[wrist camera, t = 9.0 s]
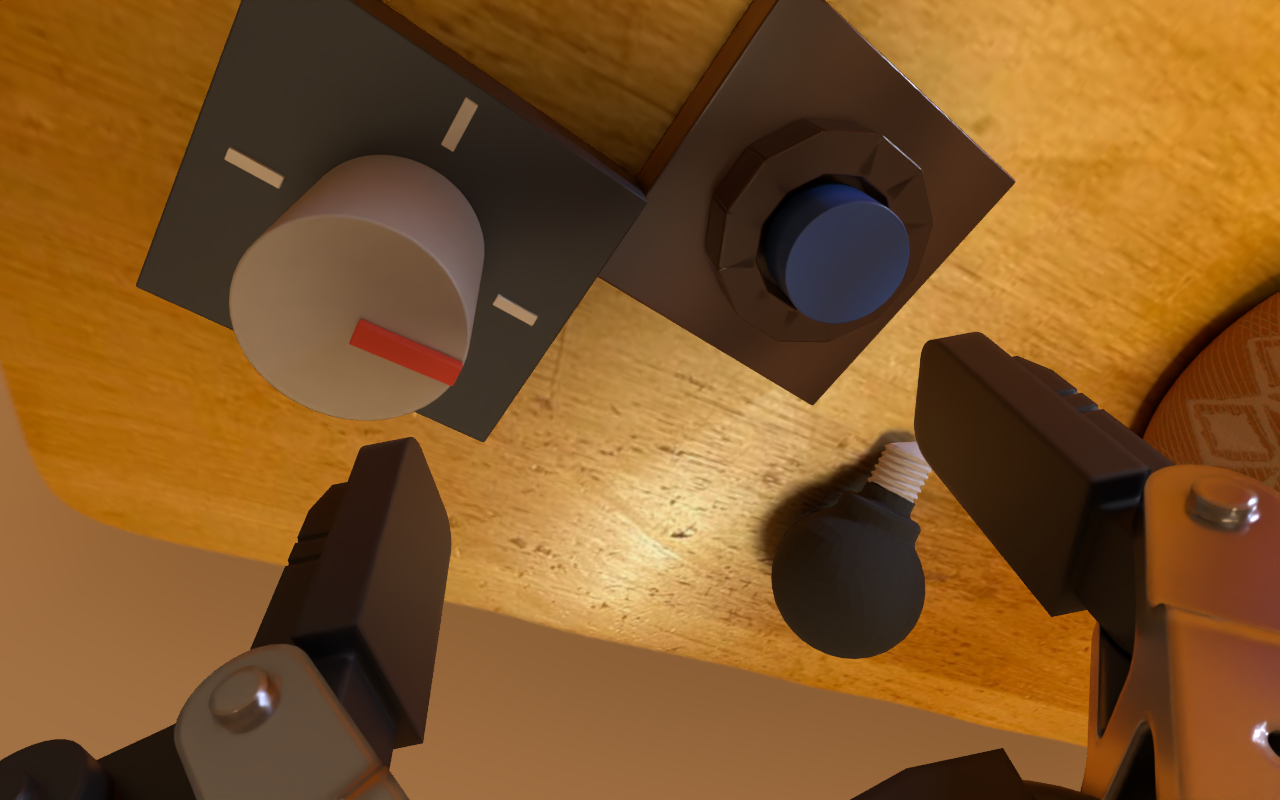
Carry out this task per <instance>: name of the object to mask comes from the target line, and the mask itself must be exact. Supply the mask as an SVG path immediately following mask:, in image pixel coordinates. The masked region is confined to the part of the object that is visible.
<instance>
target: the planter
mask: <svg viewBox="0 0 1280 800" xmlns="http://www.w3.org/2000/svg"><path fill="white" fill-rule="evenodd" d="M1143 440H1144V441H1145V442H1147V443H1148V444H1149V445H1151V446H1152V447H1153V448H1155V449H1156V450H1157V451H1159V452H1160V453H1161V454H1162V455H1164V456H1165V457H1166V458H1168V459H1169V460H1170V461H1172V462H1173V463H1174V464H1176V465H1185V464H1194V465H1206V466H1214V467H1219V468H1223V469H1228V470H1231V471H1235V472H1238V473H1241V474H1244V475H1246V476H1249V477H1252V478H1254V479H1256V480H1258V481H1260V482H1262V483H1265V484H1266V485H1268V486H1270V487H1271V488H1273V489H1275V490H1276V491H1278V492H1279V493H1280V291H1279V292H1277V293H1276V294H1274V295H1272V296H1271V297H1269V298H1267V299H1266V300H1264V301H1263V302H1261V303H1260V304H1258V305H1257V306H1255V307H1254V308H1253V309H1251V310H1250V311H1248V312H1247V313H1246V314H1244V315H1243V316H1242V317H1240V318H1239V319H1238V320H1236V321H1235V322H1234V323H1233V324H1231V325H1230V326H1229V327H1228V328H1227V329H1225V330H1224V331H1223V332H1222V333H1221V334H1220V335H1219V336H1217V337H1216V338H1215V339H1214V340H1213V341H1212V342H1211V343H1210V344H1209V345H1208V346H1207V347H1206V348H1205V349H1204V350H1202V352H1201V353H1200V354H1199V355H1198V356H1197V357H1196V358H1195V359H1194V360H1193V361H1192V362H1191V363H1190V364H1189V365H1188V367H1187V368H1186V369H1185V370H1184V371H1183V372H1182V374H1181V375H1180V376H1179V377H1178V379H1177V380H1176V381H1175V382H1174V384H1173V385H1172V386H1171V388H1170V389H1169V391H1168V392H1167V393H1166V395H1165V396H1164V398H1163V399H1162V401H1161V403H1160V404H1159V406H1158V408H1157V409H1156V411H1155V413H1154V415H1153V417H1152V418H1151V420H1150V423H1149V425H1148V427H1147V429H1146V431H1145V434H1144V436H1143Z"/></svg>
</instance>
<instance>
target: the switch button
mask: <svg viewBox="0 0 1280 800" xmlns="http://www.w3.org/2000/svg"><path fill="white" fill-rule="evenodd" d="M909 253H910V251H909V239H908V235H907V232H906V229H905V227H904V225H903V223H902V221H901V220H900V219H899V217H898V216H897V215H896V214H895V213H894V212H893V211H891V210H890V209H888V208H887V207H885V206H884V205H882V204H881V203H879V202H878V201H876V200H875V199H873V198H871V197H870V196H868V195H867V194H865V193H864V192H862V191H861V190H859V189H858V188H856V187H853V186H851V185H848V184H845V183H838V182H827V183H821V184H817V185H813V186H811V187H809V188H806V189H804V190H802V191H801V192H799V193H797V194H796V195H794V196H793V197H792V198H790V199H789V200H788V201H787V202H786V203H785V204H784V205H783V206H782V208H781V209H780V210H779V211H778V213H777V214H776V216H775V217H774V219H773V221H772V223H771V225H770V227H769V230H768V232H767V236H766V241H765V260H766V265H767V268H768V270H769V273H770V275H771V276H772V278H773V279H774V281H775V282H776V283H777V284H778V286H779V287H780V288H781V290H782V291H783V292H784V293H785V295H786V296H787V297H788V298H789V300H790V301H791V302H792V303H793V305H794V306H795V307H796V308H797V309H798V310H799V311H800V312H801V313H802V314H804V315H805V316H807V317H808V318H810V319H812V320H815V321H818V322H822V323H829V324H840V323H847V322H851V321H854V320H857V319H860V318H862V317H864V316H866V315H868V314H870V313H872V312H873V311H875V310H876V309H878V308H879V307H880V306H881V305H882V304H884V303H885V302H886V301H887V300H888V299H889V298H890V297H891V295H892V294H893V293H894V292H895V290H896V289H897V287H898V286H899V284H900V282H901V280H902V279H903V277H904V274H905V271H906V269H907V265H908V261H909Z"/></svg>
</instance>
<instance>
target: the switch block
mask: <svg viewBox="0 0 1280 800" xmlns="http://www.w3.org/2000/svg"><path fill="white" fill-rule="evenodd" d="M636 180H637V182H638V184H639V186H640V188H641V189H642V191H643V193H644V195H645V197H646V199H647V201H648V202H647V204H646V206H645V207H644V209H643V210H642V212H641V213H640V215H639V216H638V218H637V219H636V221H635V222H634V223H633V225H632V226H631V228H630V229H629V231H628V232H627V234H626V235H625V237H624V238H623V240H622V241H621V243H620V244H619V245H618V247H617V248H616V250H615V251H614V253H613V254H612V256H611V257H610V259H609V260H608V262H607V263H606V265H605V266H604V267H603V269H602V270H601V272H600V273H599V275H598V276H597V277H599V278H601V279H602V280H604V281H606V282H607V283H609V284H611V285H612V286H614V287H616V288H617V289H619V290H621V291H622V292H624V293H626V294H627V295H629V296H631V297H632V298H634V299H636V300H637V301H639V302H641V303H642V304H644V305H646V306H647V307H649V308H651V309H652V310H654V311H656V312H657V313H659V314H661V315H662V316H664V317H666V318H667V319H669V320H671V321H672V322H674V323H676V324H677V325H679V326H681V327H682V328H684V329H686V330H687V331H689V332H690V333H692V334H694V335H695V336H697V337H699V338H700V339H702V340H704V341H705V342H707V343H709V344H710V345H712V346H714V347H715V348H717V349H719V350H720V351H722V352H724V353H725V354H727V355H729V356H730V357H732V358H734V359H735V360H737V361H739V362H740V363H742V364H744V365H745V366H747V367H749V368H750V369H752V370H754V371H755V372H757V373H759V374H760V375H762V376H764V377H765V378H767V379H769V380H770V381H772V382H774V383H775V384H777V385H779V386H780V387H782V388H784V389H785V390H787V391H789V392H790V393H792V394H794V395H795V396H797V397H799V398H800V399H802V400H804V401H805V402H807V403H809V404H810V405H814V404H815V403H816V402H817V400H818V399H819V398H820V397H821V396H822V395H823V394H824V393H825V392H826V391H827V389H828V388H829V387H830V386H831V385H832V384H833V383H834V382H835V381H836V380H837V378H838V377H839V376H840V375H841V374H842V373H843V372H844V371H845V370H846V369H847V367H848V366H849V365H850V364H851V363H852V362H853V361H854V360H855V359H856V358H857V356H858V355H859V354H860V353H861V352H862V351H863V350H864V349H865V348H866V347H867V345H868V344H869V343H870V342H871V341H872V340H873V339H874V338H875V337H876V335H877V334H878V333H879V332H880V331H881V330H882V329H883V328H884V327H885V326H886V324H887V323H888V322H889V321H890V320H891V319H892V318H893V317H894V316H895V315H896V313H897V312H898V311H899V310H900V309H901V308H902V307H903V306H904V305H905V304H906V302H907V301H908V300H909V299H910V298H911V297H912V296H913V295H914V294H915V293H916V291H917V290H918V289H919V288H920V287H921V286H922V285H923V284H924V283H925V282H926V280H927V279H928V278H929V277H930V276H931V275H932V274H933V273H934V272H935V271H936V269H937V268H938V267H939V266H940V265H941V264H942V263H943V262H944V261H945V260H946V258H947V257H948V256H949V255H950V254H951V253H952V252H953V251H954V250H955V248H956V247H957V246H958V245H959V244H960V243H961V242H962V241H963V240H964V239H965V237H966V236H967V235H968V234H969V233H970V232H971V231H972V230H973V229H974V228H975V226H976V225H977V224H978V223H979V222H980V221H981V220H982V219H983V218H984V217H985V215H986V214H987V213H988V212H989V211H990V210H991V209H992V208H993V207H994V206H995V204H996V203H997V202H998V201H999V200H1000V199H1001V198H1002V197H1003V196H1004V195H1005V193H1006V192H1007V191H1008V190H1009V189H1010V188H1011V187H1012V186H1013V185H1014V184H1015V180H1014V179H1013V178H1012V177H1011V176H1010V175H1009V174H1008V173H1007V172H1006V171H1005V170H1004V169H1003V168H1002V167H1001V166H1000V165H999V164H997V163H996V162H995V161H994V160H993V159H992V158H991V157H990V156H989V155H988V154H987V153H986V152H985V151H984V150H983V149H982V148H981V147H980V146H978V145H977V144H976V143H975V142H974V141H973V140H972V139H971V138H970V137H969V136H968V135H967V134H966V133H965V132H964V131H963V130H962V129H960V128H959V127H958V126H957V125H956V124H955V123H954V122H953V121H952V120H951V119H950V118H949V117H948V116H947V115H946V114H945V113H944V112H943V111H941V110H940V109H939V108H938V107H937V106H936V105H935V104H934V103H933V102H932V101H931V100H930V99H929V98H928V97H927V96H926V95H925V94H923V93H922V92H921V91H920V90H919V89H918V88H917V87H916V86H915V85H914V84H913V83H912V82H911V81H910V80H909V79H908V78H907V77H906V76H904V75H903V74H902V73H901V72H900V71H899V70H898V69H897V68H896V67H895V66H894V65H893V64H892V63H891V62H890V61H889V60H888V59H886V58H885V57H884V56H883V55H882V54H881V53H880V52H879V51H878V50H877V49H876V48H875V47H874V46H873V45H872V44H871V43H870V42H869V41H867V40H866V39H865V38H864V37H863V36H862V35H861V34H860V33H859V32H858V31H857V30H856V29H855V28H854V27H853V26H852V25H851V24H850V23H848V22H847V21H846V20H845V19H844V18H843V17H842V16H841V15H840V14H839V13H838V12H837V11H836V10H835V9H834V8H833V7H832V6H830V5H829V4H828V3H827V2H826V1H825V0H754V1H753V2H752V4H751V5H750V7H749V8H748V10H747V11H746V13H745V14H744V16H743V17H742V19H741V20H740V22H739V23H738V25H737V26H736V28H735V29H734V31H733V32H732V34H731V35H730V37H729V38H728V40H727V41H726V43H725V44H724V46H723V47H722V49H721V50H720V52H719V53H718V55H717V56H716V58H715V59H714V61H713V62H712V64H711V65H710V67H709V68H708V70H707V71H706V73H705V74H704V76H703V78H702V79H701V81H700V82H699V84H698V85H697V87H696V88H695V90H694V91H693V93H692V94H691V96H690V97H689V99H688V100H687V102H686V103H685V105H684V106H683V108H682V109H681V111H680V112H679V114H678V115H677V117H676V118H675V120H674V121H673V123H672V124H671V126H670V127H669V129H668V130H667V132H666V133H665V135H664V136H663V138H662V139H661V141H660V142H659V144H658V145H657V147H656V148H655V150H654V151H653V153H652V154H651V156H650V157H649V159H648V160H647V162H646V163H645V165H644V166H643V168H642V169H641V171H640V172H639V174H638V175H637V177H636ZM827 182H838V183H845V184H848V185H851V186H853V187H856V188H858V189H859V190H861V191H862V192H864V193H865V194H867V195H868V196H870V197H871V198H873V199H875V200H876V201H878V202H879V203H881V204H882V205H884V206H885V207H887V208H888V209H890V210H891V211H893V212H894V213H895V214H896V215H897V216H898V217H899V219H900V220H901V221H902V223H903V225H904V227H905V229H906V232H907V235H908V239H909V251H910V253H909V261H908V265H907V269H906V271H905V274H904V277H903V279H902V280H901V282H900V284H899V286H898V287H897V289H896V290H895V292H894V293H893V294H892V295H891V297H890V298H889V299H888V300H887V301H886V302H885V303H884V304H882V305H881V306H880V307H879V308H878V309H876V310H875V311H873V312H872V313H870V314H868V315H866V316H864V317H862V318H860V319H857V320H854V321H851V322H847V323H840V324H829V323H822V322H818V321H815V320H812V319H810V318H808V317H807V316H805V315H804V314H802V313H801V312H800V311H799V310H798V309H797V308H796V307H795V306H794V305H793V303H792V302H791V301H790V300H789V298H788V297H787V296H786V295H785V293H784V292H783V291H782V290H781V288H780V287H779V286H778V284H777V283H776V282H775V281H774V279H773V278H772V276H771V275H770V273H769V270H768V268H767V265H766V260H765V241H766V236H767V232H768V230H769V227H770V225H771V223H772V221H773V219H774V217H775V216H776V214H777V213H778V211H779V210H780V209H781V208H782V206H783V205H784V204H785V203H786V202H787V201H788V200H789V199H790V198H792V197H793V196H794V195H796V194H797V193H799V192H801V191H802V190H804V189H806V188H809V187H811V186H813V185H817V184H821V183H827Z"/></svg>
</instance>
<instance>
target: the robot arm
mask: <svg viewBox="0 0 1280 800" xmlns="http://www.w3.org/2000/svg"><path fill="white" fill-rule="evenodd" d="M914 430H915V437H916V441H917V444H918V447H919V450H920V452H921V454H922V456H923V458H924V459H925V460H926V462H927V463H928V464H929V465H930V467H931V468H932V469H933V470H934V472H935V473H936V474H937V475H938V477H939V478H940V479H941V480H942V482H943V483H944V484H945V485H946V487H947V488H948V489H949V490H950V492H951V493H952V494H953V495H954V497H955V498H956V499H957V500H958V502H959V503H960V504H961V505H962V507H963V508H964V509H965V510H966V511H967V513H968V514H969V515H970V516H971V518H972V519H973V520H974V521H975V523H976V524H977V525H978V526H979V528H980V529H981V530H982V531H983V533H984V534H985V535H986V536H987V538H988V539H989V540H990V541H991V543H992V544H993V545H994V546H995V548H996V549H997V550H998V551H999V553H1000V554H1001V555H1002V556H1003V557H1004V559H1005V560H1006V561H1007V562H1008V564H1009V565H1010V566H1011V567H1012V569H1013V570H1014V571H1015V572H1016V574H1017V575H1018V576H1019V577H1020V579H1021V580H1022V581H1023V582H1024V584H1025V585H1026V586H1027V587H1028V589H1029V590H1030V591H1031V592H1032V594H1033V595H1034V596H1035V597H1036V599H1037V600H1038V601H1039V602H1040V603H1041V605H1042V606H1043V607H1044V608H1045V610H1046V611H1047V612H1048V613H1049V615H1050V616H1051V617H1054V616H1058V615H1063V614H1068V613H1073V612H1078V611H1083V610H1088V611H1089V612H1090V614H1091V615H1092V616H1093V617H1094V618H1095V619H1096V621H1097V623H1096V626H1095V628H1094V631H1093V635H1092V644H1091V669H1090V695H1089V720H1088V746H1087V760H1086V768H1085V773H1084V778H1083V783H1082V787H1081V791H1080V792H1078V791H1075V790H1072V789H1068V788H1065V787H1061V786H1056V785H1051V784H1045V783H1040V782H1034V781H1027V780H1022V779H1021V777H1020V775H1019V774H1018V772H1017V770H1016V769H1015V767H1014V765H1013V764H1012V762H1011V760H1010V759H1009V757H1008V756H1007V754H1006V752H1005V751H1004V749H1003V748H1001V749H996V750H991V751H987V752H982V753H977V754H972V755H968V756H963V757H958V758H954V759H949V760H944V761H939V762H935V763H930V764H925V765H921V766H916V767H911V768H906V769H905V770H903V771H901V772H899V773H897V774H896V775H894V776H892V777H890V778H888V779H887V780H885V781H883V782H881V783H879V784H878V785H876V786H874V787H872V788H870V789H869V790H867V791H865V792H863V793H861V794H860V795H858V796H856V797H854V798H852V799H851V800H1280V493H1279V492H1278V491H1276V490H1275V489H1273V488H1271V487H1270V486H1268V485H1266V484H1265V483H1262V482H1260V481H1258V480H1256V479H1254V478H1252V477H1249V476H1246V475H1244V474H1241V473H1238V472H1235V471H1231V470H1228V469H1223V468H1219V467H1214V466H1206V465H1194V464H1185V465H1176V464H1174V463H1173V462H1172V461H1170V460H1169V459H1168V458H1166V457H1165V456H1164V455H1162V454H1161V453H1160V452H1159V451H1157V450H1156V449H1155V448H1153V447H1152V446H1151V445H1149V444H1148V443H1147V442H1145V441H1144V440H1143V439H1141V438H1140V437H1139V436H1138V435H1136V434H1135V433H1134V432H1132V431H1131V430H1130V429H1128V428H1127V427H1126V426H1124V425H1123V424H1122V423H1121V422H1119V421H1118V420H1117V419H1115V418H1114V417H1113V416H1111V415H1110V414H1109V413H1107V412H1106V411H1105V410H1104V409H1101V410H1099V409H1098V405H1097V404H1096V403H1094V402H1093V401H1092V400H1090V399H1089V398H1088V397H1087V396H1085V395H1084V394H1083V393H1079V394H1078V393H1077V389H1076V388H1075V387H1073V386H1072V385H1071V384H1070V383H1068V382H1067V381H1066V380H1064V379H1063V378H1062V377H1060V376H1059V375H1058V374H1056V373H1055V372H1054V371H1053V370H1051V369H1048V368H1046V367H1043V366H1041V365H1038V364H1036V363H1034V362H1031V361H1029V360H1026V359H1024V358H1021V357H1019V356H1014V357H1011V356H1010V355H1009V354H1008V353H1006V352H1005V351H1004V350H1003V349H1001V348H1000V347H999V346H998V345H996V344H995V343H994V342H993V341H991V340H990V339H989V338H988V337H986V336H985V335H984V334H982V333H980V332H971V333H966V334H961V335H955V336H950V337H945V338H940V339H934V340H930V341H928V342H926V343H925V345H924V346H923V349H922V352H921V358H920V368H919V378H918V388H917V398H916V408H915V418H914ZM297 538H298V543H295V545H294V547H293V549H292V552H291V554H290V556H289V559H288V562H289V565H288V566H285V568H284V571H283V573H282V576H281V578H280V580H279V582H278V585H277V587H276V590H275V592H274V595H273V597H272V599H271V601H270V604H269V606H268V608H267V611H266V613H265V616H264V618H263V620H262V623H261V625H260V628H259V630H258V632H257V635H256V637H255V639H254V642H253V644H252V646H251V649H250V651H247V652H245V653H243V654H241V655H239V656H237V657H235V658H233V659H232V660H230V661H229V662H226V663H225V664H224V665H222V666H221V667H219V668H218V669H217V670H215V671H214V672H213V673H212V674H211V675H210V676H208V677H207V678H206V679H205V680H204V681H203V682H202V683H201V684H200V685H199V686H198V687H197V688H196V689H195V691H194V692H193V693H192V694H191V696H190V697H189V698H188V700H187V701H186V703H185V705H184V706H183V708H182V710H181V712H180V714H179V716H178V718H177V721H176V723H175V724H174V725H171V726H169V727H167V728H166V729H163V730H161V731H159V732H157V733H154V734H152V735H151V736H148V737H146V738H144V739H141V740H139V741H137V742H135V743H133V744H131V745H129V746H126V747H124V748H122V749H120V750H118V751H116V752H113V753H111V754H109V755H107V756H105V757H103V758H100V759H98V760H95V759H94V758H93V757H92V756H91V755H90V754H89V753H88V752H87V751H86V750H85V749H83V748H82V746H80V745H79V744H77V743H76V742H74V741H70V740H66V739H58V740H57V739H55V740H49V741H44V742H40V743H37V744H34V745H31V746H29V747H26V748H24V749H21V750H20V751H17V752H15V753H13V754H11V755H9V756H8V757H6V758H4V759H2V760H1V761H0V800H410V799H409V798H408V797H407V795H406V794H405V793H404V791H403V790H402V788H401V787H400V785H399V784H398V782H397V781H396V779H395V778H394V777H393V775H392V774H391V772H390V771H389V768H390V762H391V757H392V752H393V749H397V748H402V747H407V746H411V745H416V744H421V743H423V739H424V732H425V725H426V718H427V712H428V705H429V698H430V691H431V684H432V678H433V671H434V664H435V657H436V650H437V643H438V635H439V630H440V623H441V616H442V609H443V602H444V595H445V589H446V582H447V575H448V568H449V561H450V554H451V532H450V525H449V520H448V516H447V513H446V510H445V507H444V505H443V502H442V500H441V497H440V495H439V492H438V490H437V487H436V485H435V482H434V479H433V477H432V474H431V472H430V469H429V467H428V464H427V462H426V459H425V457H424V454H423V452H422V449H421V447H420V445H419V443H418V442H417V440H416V439H415V438H413V437H408V438H403V439H398V440H392V441H387V442H382V443H376V444H371V445H366V446H363V447H361V449H360V450H359V453H358V455H357V458H356V461H355V463H354V466H353V469H352V471H351V474H350V477H349V480H348V482H345V483H340V484H335V485H332V486H331V487H330V488H329V489H328V490H327V491H326V493H325V494H324V495H323V496H322V497H321V498H320V499H319V500H318V501H317V502H316V503H315V505H314V506H313V507H312V508H311V509H310V510H309V511H308V514H307V516H306V518H305V521H304V523H303V526H302V528H301V530H300V533H299V535H298V537H297Z"/></svg>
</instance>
